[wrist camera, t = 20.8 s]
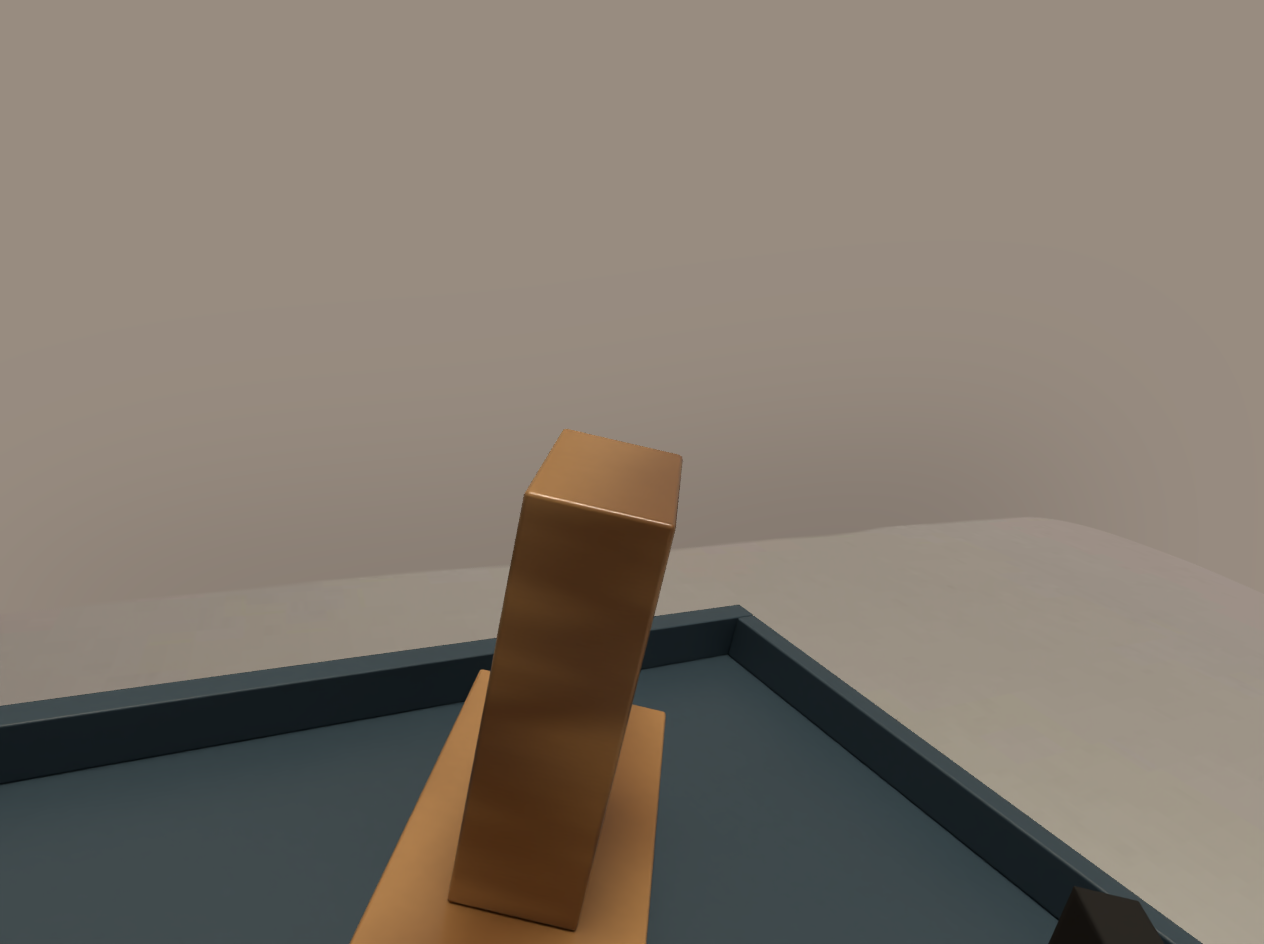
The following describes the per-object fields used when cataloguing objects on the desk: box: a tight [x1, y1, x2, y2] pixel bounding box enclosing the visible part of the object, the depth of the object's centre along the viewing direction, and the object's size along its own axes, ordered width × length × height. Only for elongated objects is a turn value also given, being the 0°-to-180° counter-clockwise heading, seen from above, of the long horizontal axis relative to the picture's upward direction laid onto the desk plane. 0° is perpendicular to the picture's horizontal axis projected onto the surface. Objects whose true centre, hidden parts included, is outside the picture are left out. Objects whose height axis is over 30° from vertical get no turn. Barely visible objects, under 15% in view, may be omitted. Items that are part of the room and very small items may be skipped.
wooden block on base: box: [349, 429, 682, 944], centre depth 18 cm, size 5×12×10 cm, turn 176°
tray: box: [0, 605, 1202, 944], centre depth 20 cm, size 18×26×2 cm
